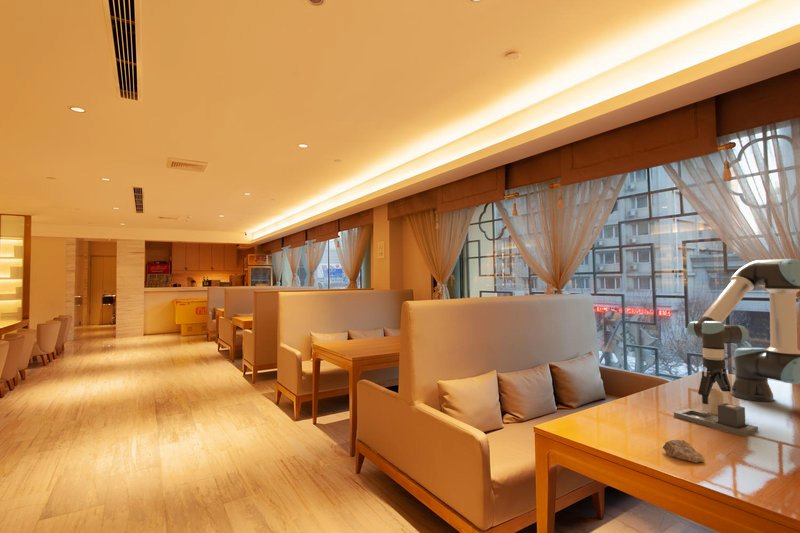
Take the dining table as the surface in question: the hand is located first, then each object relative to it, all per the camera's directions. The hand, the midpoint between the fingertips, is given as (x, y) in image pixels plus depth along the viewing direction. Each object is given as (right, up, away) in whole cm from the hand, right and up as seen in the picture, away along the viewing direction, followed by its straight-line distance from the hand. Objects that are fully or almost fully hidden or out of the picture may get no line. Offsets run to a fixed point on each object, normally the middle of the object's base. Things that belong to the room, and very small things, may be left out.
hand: (715, 409), depth 170 cm
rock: (-41, -2, -40) cm, 57 cm away
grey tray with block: (-10, -2, -12) cm, 15 cm away
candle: (0, -2, 0) cm, 2 cm away
